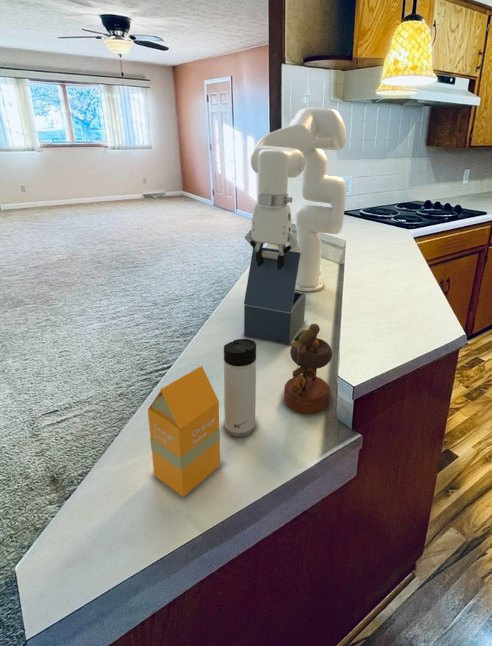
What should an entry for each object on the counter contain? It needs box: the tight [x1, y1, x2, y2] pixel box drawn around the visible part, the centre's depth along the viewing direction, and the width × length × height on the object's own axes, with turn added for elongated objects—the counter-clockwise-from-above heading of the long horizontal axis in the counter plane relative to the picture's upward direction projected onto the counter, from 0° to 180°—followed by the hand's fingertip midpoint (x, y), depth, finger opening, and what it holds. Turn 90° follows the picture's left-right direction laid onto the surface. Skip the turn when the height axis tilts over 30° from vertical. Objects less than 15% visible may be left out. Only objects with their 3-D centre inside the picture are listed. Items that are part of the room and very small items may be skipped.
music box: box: [283, 323, 333, 415], centre depth 92 cm, size 15×11×20 cm
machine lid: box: [243, 246, 301, 312], centre depth 113 cm, size 17×14×6 cm
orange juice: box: [147, 365, 221, 498], centre depth 70 cm, size 8×9×20 cm
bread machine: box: [243, 291, 307, 346], centre depth 124 cm, size 16×14×10 cm
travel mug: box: [223, 338, 257, 438], centre depth 81 cm, size 6×7×20 cm
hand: (270, 265), depth 112 cm, fingers closed on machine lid, 5 cm apart
